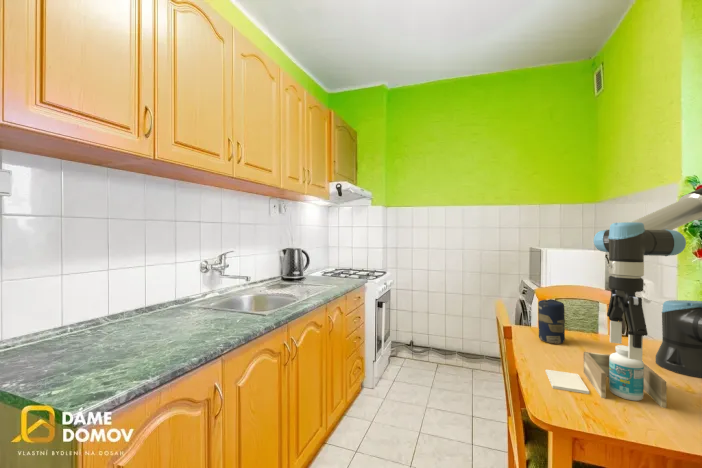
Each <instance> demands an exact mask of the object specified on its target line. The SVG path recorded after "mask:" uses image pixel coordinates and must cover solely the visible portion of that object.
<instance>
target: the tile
mask: <svg viewBox="0 0 702 468" xmlns="http://www.w3.org/2000/svg"><path fill="white" fill-rule="evenodd" d="M545 374H546V376H547V378H548V380H549V383H550V385H551V388H552V389H554V390H555V389H556V390H560V391H568V392H572V393H573V392H574V393H582V394H585V395H586V394H587V395H590V390H589V389H588V387H587V386H586V383H585V382H584V381H583V379H582V378H581V376H580V375H579V374H578V373H574V372H573V373H572V372H567V371H559V370H553V369H545Z"/></svg>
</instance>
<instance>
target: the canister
mask: <svg viewBox="0 0 702 468" xmlns="http://www.w3.org/2000/svg"><path fill="white" fill-rule="evenodd" d="M537 306H538V308H537V309H538V312H537V313H538V321H537V322H538V338H539V339H540V340H541V341H543V342H545V343H549V344H550V343H551V344H562V343H564V342H565V339H566V336H565V335H566V334H565V330H566V328H565V323H566V319H565V318H566V317H565V315H566V314H565V304H564V303H563V302H562V301H558V300H556V299H552V298H550V299H542V300H539V301H538V305H537Z"/></svg>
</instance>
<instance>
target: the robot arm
mask: <svg viewBox="0 0 702 468" xmlns="http://www.w3.org/2000/svg"><path fill="white" fill-rule="evenodd" d="M693 221H702V187H700V188H698V189H696V190H694V191H691V192H688V193H687V194H685V195H682V196H681V197H680V198H679V199H678V201H676V202H673V203H671V204H669V205H667V206H665V207H662V208H660V209H658V210H655V211H653V212H651V213H648V214H646V215H644V216H642V217H639V218H637V219H635V220H633V221H631V222H629V221H625V222H613V223H611V224H610V225H609V229H606V230H605V229H603V230H600V231H598V232H596V233H595V235H594V237H593V245H594V248H595V249H596V250H598V251H600V252H602V253H603V252H604V253H608V263H607V264H606V267H607V268H608V274H609V276H608V288H609V289H610V299H609V303H608V307H607V313H606V316H607V317H608V320H609V343H610V344H619V345H623V344H622V343H623V342H622V341H623V340H622V339H623V338H622V337H623V336H622V335H623V332H622V331H623V321H624V320H623V315H624V316H625V319H626V322H627V326H628V328H629V330H628V331H627V332H626V334H627V335H628V338H627V339H628V344H627V346H628V358H629V359H636V360H642V361H643V349H644V348H643V343H644V341H643V338H644V336H646V337H647V336H648V334H649V333H648V329H647V325H646V318H645V314H644V309H643V299H642V297H640V296H638V297H637V296H636V293H640V292H643V291H644V279H643V278H642V277H644V276H645V262H644V260H645V257H646V256H651V257H653V256H655V257H658V256H661V257H670V256H677V255H679V254H681V253H682V252H683V251H684V250H685V248H686V246H687V240H686V238H685V235H683V234H682V233H681V232H680V231H677V230H675V229H678V228H680V227H681V226H682V227H683V226H684V225H686V224H689V223H691V222H693ZM661 328H662V329H661V330H662V331H661V333H662V341H661V344H660V346H659V348H658V350H657V352H656V354H655V364H657V365H658V366H659V367H661V368H664V369H666V370H668V371H671V372H674V373H678V374H682V375H686V376H689V377H696V378H702V300H687V299H686V300H685V299H684V300H683V299H682V300H681V299H680V300H678V299H676V300H675V299H674V300H673V299H671V300H665V301H664V302H663V303H662V311H661Z"/></svg>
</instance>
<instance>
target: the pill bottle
mask: <svg viewBox="0 0 702 468" xmlns="http://www.w3.org/2000/svg"><path fill="white" fill-rule="evenodd" d="M614 347H615V352H612V353H611V354H609V355H610V357H609V377H608V383H609V384H608V389H609V391H610V392H611V393H612V394H613V395H615V396H617V397H619V398H621V399H624V400H629V401H634V402H635V401H636V402H638V401H641V400H643V399H644V392H645V391H644V364H645V363H644V361H643V359H642V360H636V359H629V358H628V345H623V344H619V345H615V346H614Z"/></svg>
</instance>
